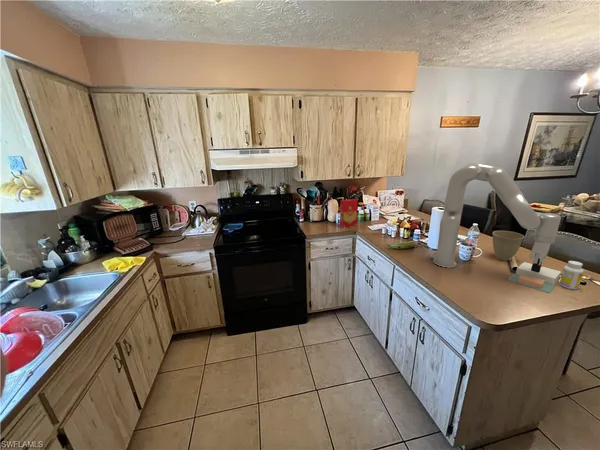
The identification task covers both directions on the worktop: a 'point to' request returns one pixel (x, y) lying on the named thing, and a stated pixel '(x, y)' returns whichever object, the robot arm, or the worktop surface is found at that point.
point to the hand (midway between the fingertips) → (535, 271)
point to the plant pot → (506, 244)
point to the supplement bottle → (572, 275)
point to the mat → (545, 288)
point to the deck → (544, 274)
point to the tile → (531, 281)
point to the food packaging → (348, 213)
